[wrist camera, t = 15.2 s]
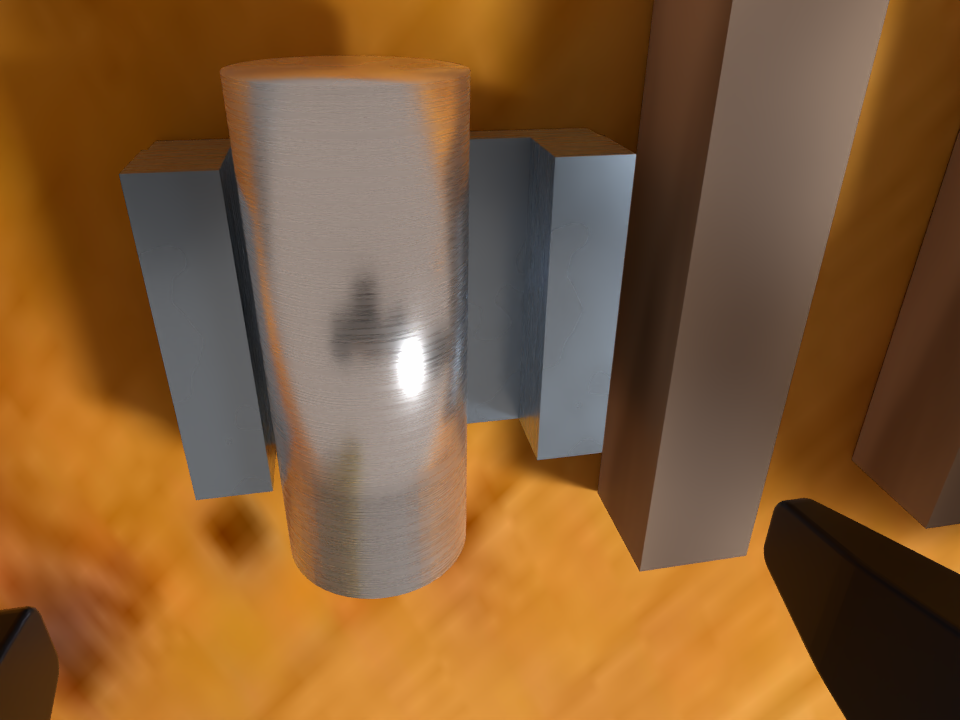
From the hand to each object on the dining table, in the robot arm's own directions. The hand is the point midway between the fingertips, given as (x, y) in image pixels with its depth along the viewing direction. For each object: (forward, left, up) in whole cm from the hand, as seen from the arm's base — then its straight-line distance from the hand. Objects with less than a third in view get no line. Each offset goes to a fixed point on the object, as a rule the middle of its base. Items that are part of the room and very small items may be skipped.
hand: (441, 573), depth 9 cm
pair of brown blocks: (-12, 0, -9) cm, 15 cm away
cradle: (0, 0, -9) cm, 9 cm away
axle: (0, 0, -6) cm, 6 cm away
